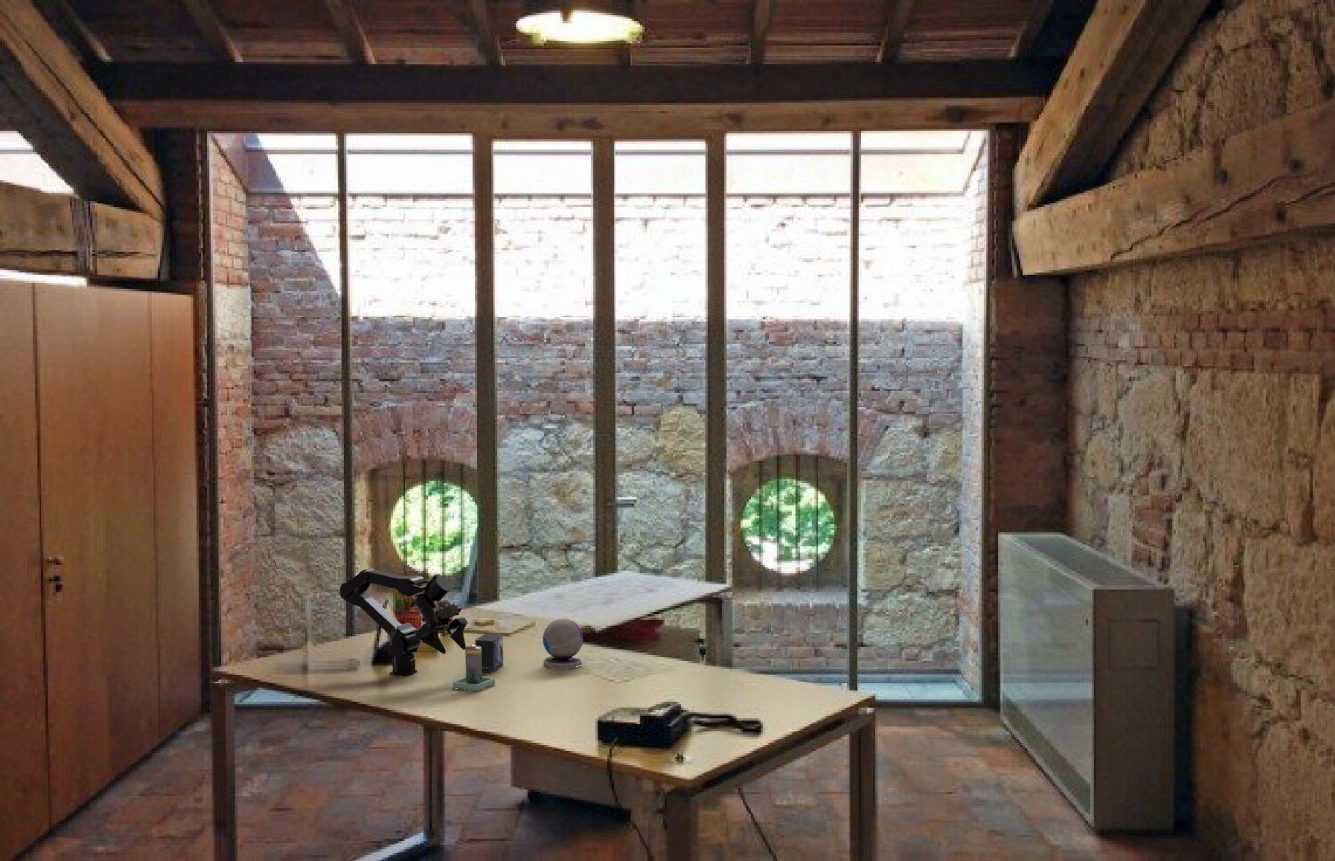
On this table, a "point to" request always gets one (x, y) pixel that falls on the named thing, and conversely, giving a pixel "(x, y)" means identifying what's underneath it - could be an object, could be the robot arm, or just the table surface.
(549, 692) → the table surface
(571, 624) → the webcam
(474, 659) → the lidded jar
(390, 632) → the robot arm
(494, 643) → the small box
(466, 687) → the tray
